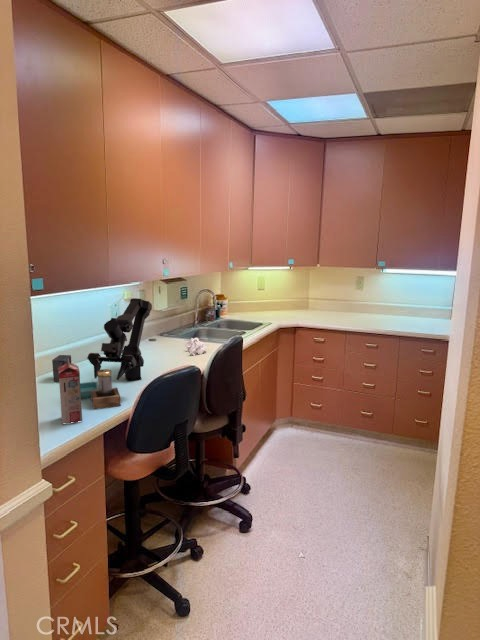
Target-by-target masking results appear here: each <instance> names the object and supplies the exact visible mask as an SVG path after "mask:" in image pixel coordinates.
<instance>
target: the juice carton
mask: <svg viewBox="0 0 480 640" xmlns="http://www.w3.org/2000/svg"><path fill="white" fill-rule="evenodd" d="M58 369H59V382H58V384H59V397H60V399H59V400H60V413H61V415H60V416H61V425H62V424H63V423H71V422H78V421H82V422H83V413H82V412H83V411H82V410H83V409H82V399H81V390H80V383H81V374H80V367H79V365H76V364H74V363H72V362H71V363H69V358H68V363H66V364H64V365H63V366H61V367H59V368H58Z"/></svg>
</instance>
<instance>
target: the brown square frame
mask: <svg viewBox="0 0 480 640" xmlns="http://www.w3.org/2000/svg"><path fill="white" fill-rule="evenodd" d="M90 399H91V403H92V408H93V410H99V409H98V408H100V409H106V407H108V408H115V407H114V406H116V407H121V405H122V403H121V395H120V391H119V389H118V387H112V396H106V397H99V390H92V391H91V398H90Z"/></svg>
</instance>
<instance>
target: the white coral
mask: <svg viewBox="0 0 480 640" xmlns="http://www.w3.org/2000/svg"><path fill="white" fill-rule="evenodd" d="M183 347H185V349H186V350H187V351H188V352H190V354H192V355H193V356H196V354H198V355H199V354H201V355H203V353H204V352H205V351H206V350H208V346H207V345H205V343H204V342H203V341H200V339H199V337H194V338H193V337H190V340H189V341H187V342H186V343H185V344H183Z"/></svg>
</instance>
